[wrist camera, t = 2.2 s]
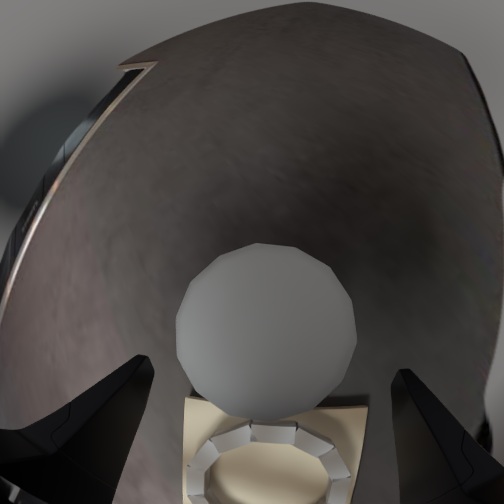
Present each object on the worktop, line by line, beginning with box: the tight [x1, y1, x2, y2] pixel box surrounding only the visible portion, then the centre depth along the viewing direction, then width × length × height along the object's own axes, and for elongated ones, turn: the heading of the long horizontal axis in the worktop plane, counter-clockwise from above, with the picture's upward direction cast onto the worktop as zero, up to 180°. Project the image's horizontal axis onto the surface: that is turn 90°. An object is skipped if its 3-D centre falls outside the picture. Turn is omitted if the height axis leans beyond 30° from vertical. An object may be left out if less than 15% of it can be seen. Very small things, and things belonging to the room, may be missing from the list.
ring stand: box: [183, 396, 368, 504], centre depth 13 cm, size 12×12×2 cm
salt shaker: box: [176, 243, 357, 422], centre depth 11 cm, size 6×6×13 cm
